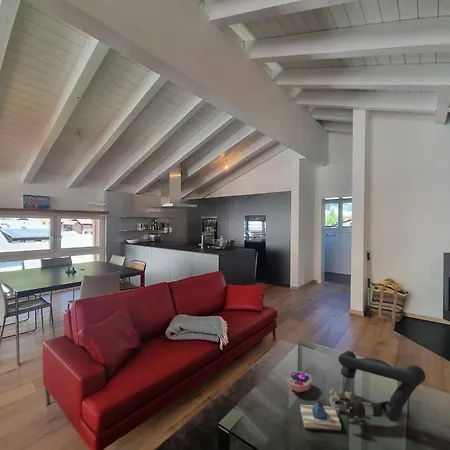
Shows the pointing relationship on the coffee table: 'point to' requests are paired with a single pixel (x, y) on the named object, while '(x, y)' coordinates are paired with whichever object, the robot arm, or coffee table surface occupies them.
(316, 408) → the perfume bottle
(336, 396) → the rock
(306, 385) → the cell model
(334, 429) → the socket plinth
